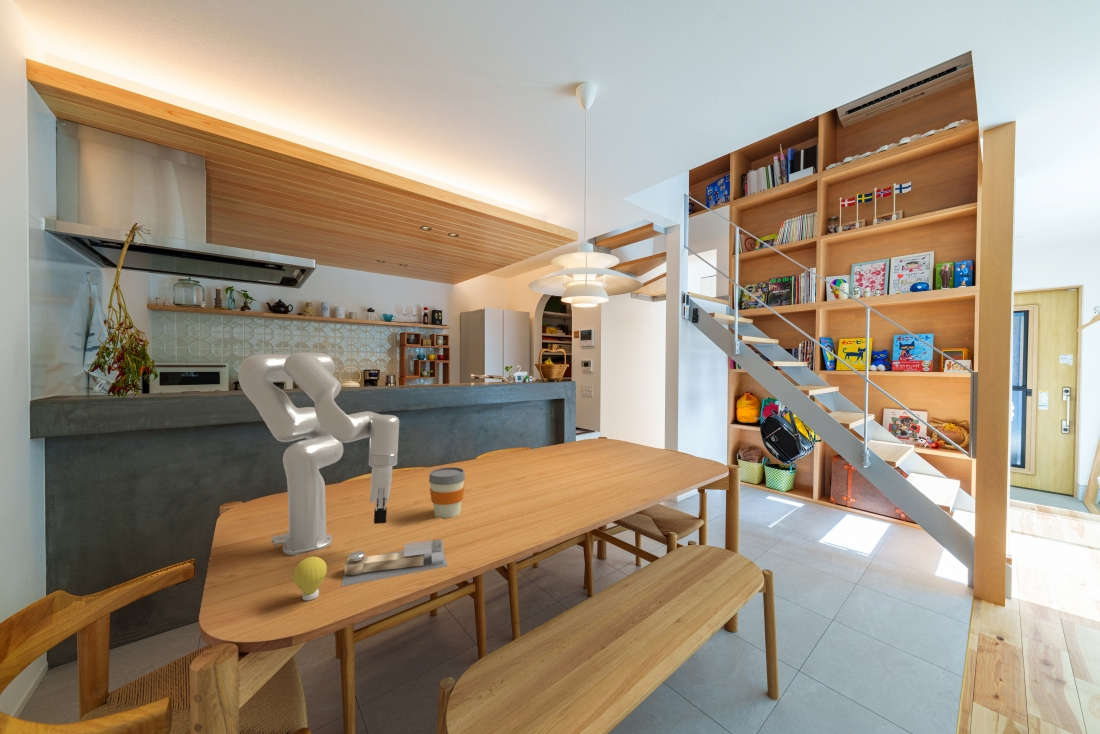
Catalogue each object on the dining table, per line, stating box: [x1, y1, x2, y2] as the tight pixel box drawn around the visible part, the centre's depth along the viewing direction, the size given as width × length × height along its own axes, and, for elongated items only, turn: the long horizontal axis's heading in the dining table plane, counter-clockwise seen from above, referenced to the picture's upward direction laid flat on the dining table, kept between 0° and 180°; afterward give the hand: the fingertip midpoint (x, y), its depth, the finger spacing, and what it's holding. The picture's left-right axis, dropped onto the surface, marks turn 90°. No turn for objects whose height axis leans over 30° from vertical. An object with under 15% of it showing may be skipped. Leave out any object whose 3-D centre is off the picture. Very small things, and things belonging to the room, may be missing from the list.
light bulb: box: [292, 556, 328, 601], centre depth 93 cm, size 7×7×10 cm
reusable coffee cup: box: [428, 466, 466, 519], centre depth 145 cm, size 13×13×15 cm
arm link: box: [344, 552, 424, 575], centre depth 106 cm, size 19×5×2 cm, turn 103°
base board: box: [340, 550, 448, 587], centre depth 108 cm, size 25×14×1 cm, turn 111°
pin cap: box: [348, 550, 365, 562], centre depth 104 cm, size 4×4×1 cm
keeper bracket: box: [403, 538, 444, 565], centre depth 109 cm, size 10×5×4 cm, turn 106°
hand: (380, 522), depth 115 cm, fingers closed
